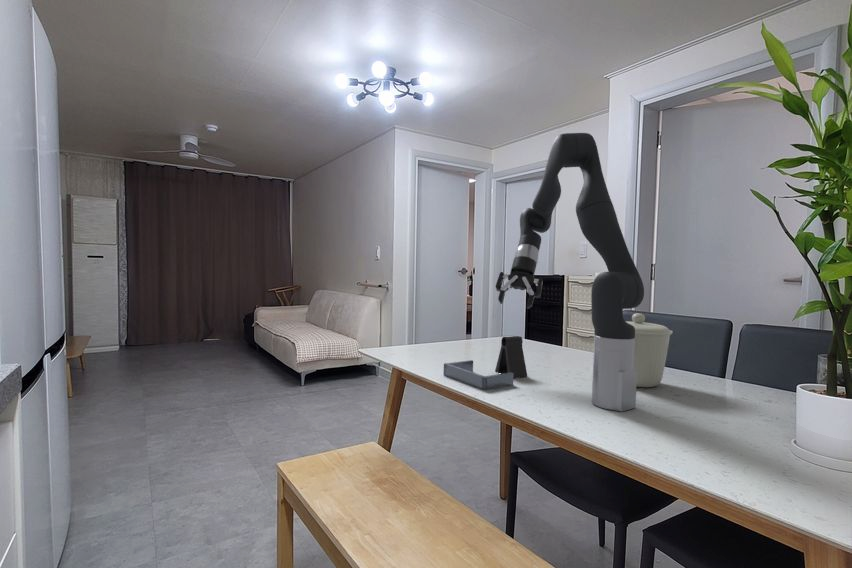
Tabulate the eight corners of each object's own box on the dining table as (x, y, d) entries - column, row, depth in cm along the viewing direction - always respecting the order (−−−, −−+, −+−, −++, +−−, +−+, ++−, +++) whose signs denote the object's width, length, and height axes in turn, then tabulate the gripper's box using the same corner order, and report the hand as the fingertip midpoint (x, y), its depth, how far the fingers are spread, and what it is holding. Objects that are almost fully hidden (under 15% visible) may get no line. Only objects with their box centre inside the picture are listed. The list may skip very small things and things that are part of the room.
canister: (592, 381, 130) (595, 312, 129) (618, 372, 142) (621, 309, 141) (656, 395, 117) (659, 318, 116) (679, 384, 129) (682, 314, 128)
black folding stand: (527, 377, 134) (528, 338, 133) (511, 378, 131) (512, 339, 131) (510, 370, 142) (511, 334, 142) (495, 371, 140) (496, 334, 139)
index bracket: (513, 384, 124) (513, 372, 124) (484, 390, 118) (484, 377, 118) (471, 370, 140) (471, 360, 140) (443, 374, 134) (443, 363, 134)
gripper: (502, 252, 141) (490, 296, 135) (547, 258, 136) (536, 304, 130) (505, 264, 147) (493, 306, 141) (547, 270, 142) (537, 314, 136)
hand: (514, 305), depth 135 cm, fingers open, 8 cm apart
